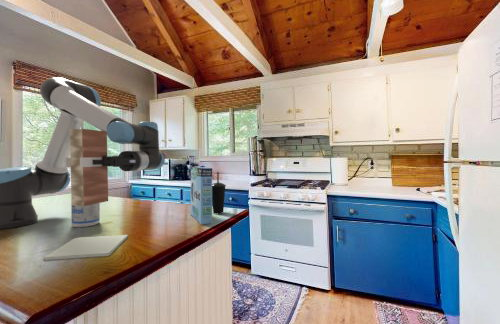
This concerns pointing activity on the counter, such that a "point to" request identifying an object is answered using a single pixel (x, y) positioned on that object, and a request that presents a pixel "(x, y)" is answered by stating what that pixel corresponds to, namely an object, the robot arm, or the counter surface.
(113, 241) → the mat
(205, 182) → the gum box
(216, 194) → the drinking cup
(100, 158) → the robot arm
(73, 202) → the wooden block tower
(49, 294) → the counter surface
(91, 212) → the supplement tub
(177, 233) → the counter surface
